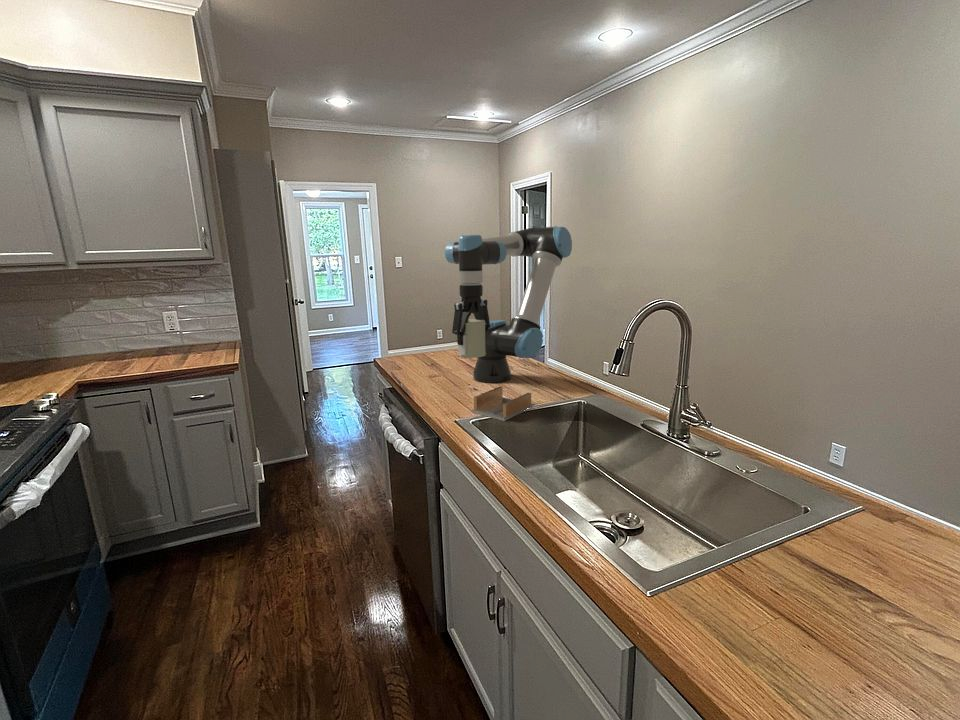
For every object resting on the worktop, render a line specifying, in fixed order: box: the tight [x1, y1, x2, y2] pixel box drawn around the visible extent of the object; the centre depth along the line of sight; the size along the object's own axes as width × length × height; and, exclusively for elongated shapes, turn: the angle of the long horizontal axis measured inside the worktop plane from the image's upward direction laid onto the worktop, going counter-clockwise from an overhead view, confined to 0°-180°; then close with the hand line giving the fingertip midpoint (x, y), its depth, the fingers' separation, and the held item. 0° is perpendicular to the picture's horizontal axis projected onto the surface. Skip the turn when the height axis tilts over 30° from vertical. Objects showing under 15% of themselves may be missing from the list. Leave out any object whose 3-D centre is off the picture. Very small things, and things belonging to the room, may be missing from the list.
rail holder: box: [471, 386, 534, 422], centre depth 155 cm, size 16×13×5 cm
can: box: [458, 318, 486, 359], centre depth 159 cm, size 9×9×12 cm
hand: (472, 351), depth 160 cm, fingers closed on can, 9 cm apart
